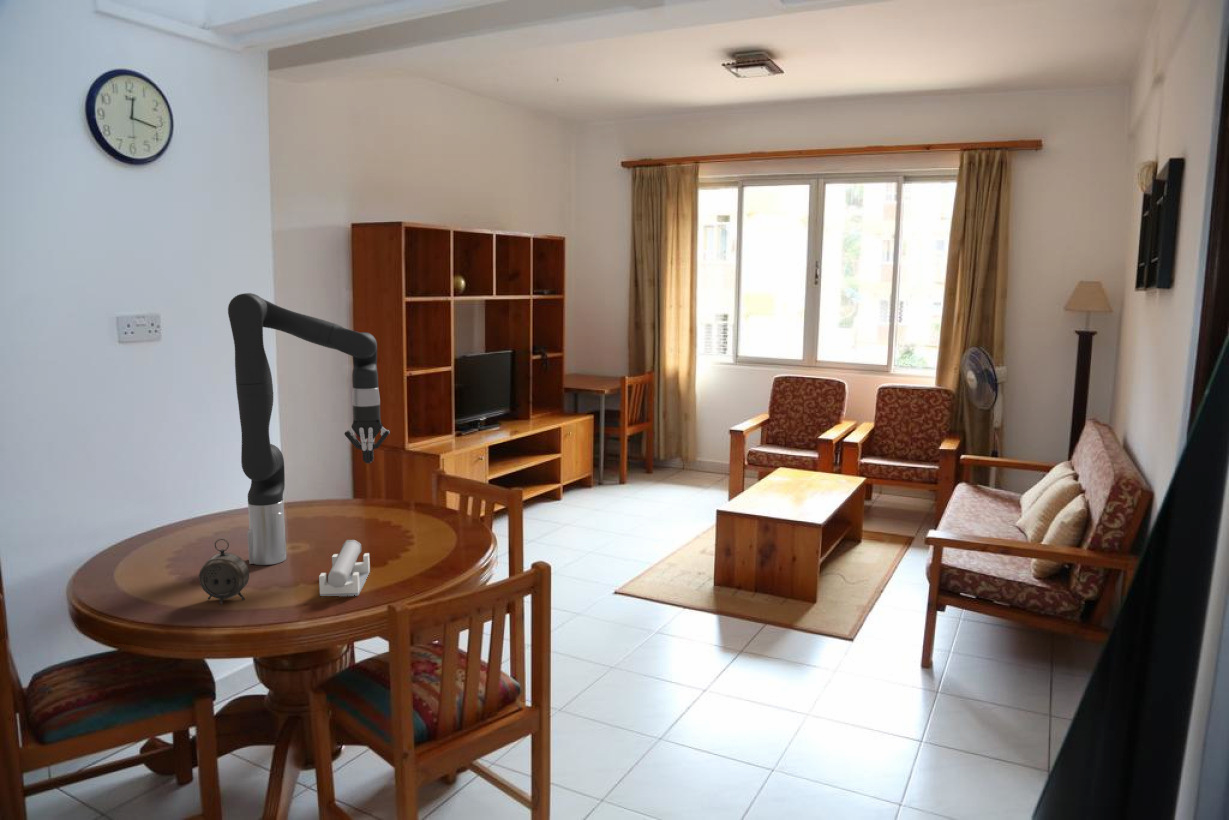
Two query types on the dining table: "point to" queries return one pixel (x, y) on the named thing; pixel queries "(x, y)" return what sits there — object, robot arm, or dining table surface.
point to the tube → (344, 563)
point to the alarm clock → (224, 575)
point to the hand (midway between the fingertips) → (368, 462)
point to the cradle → (353, 582)
